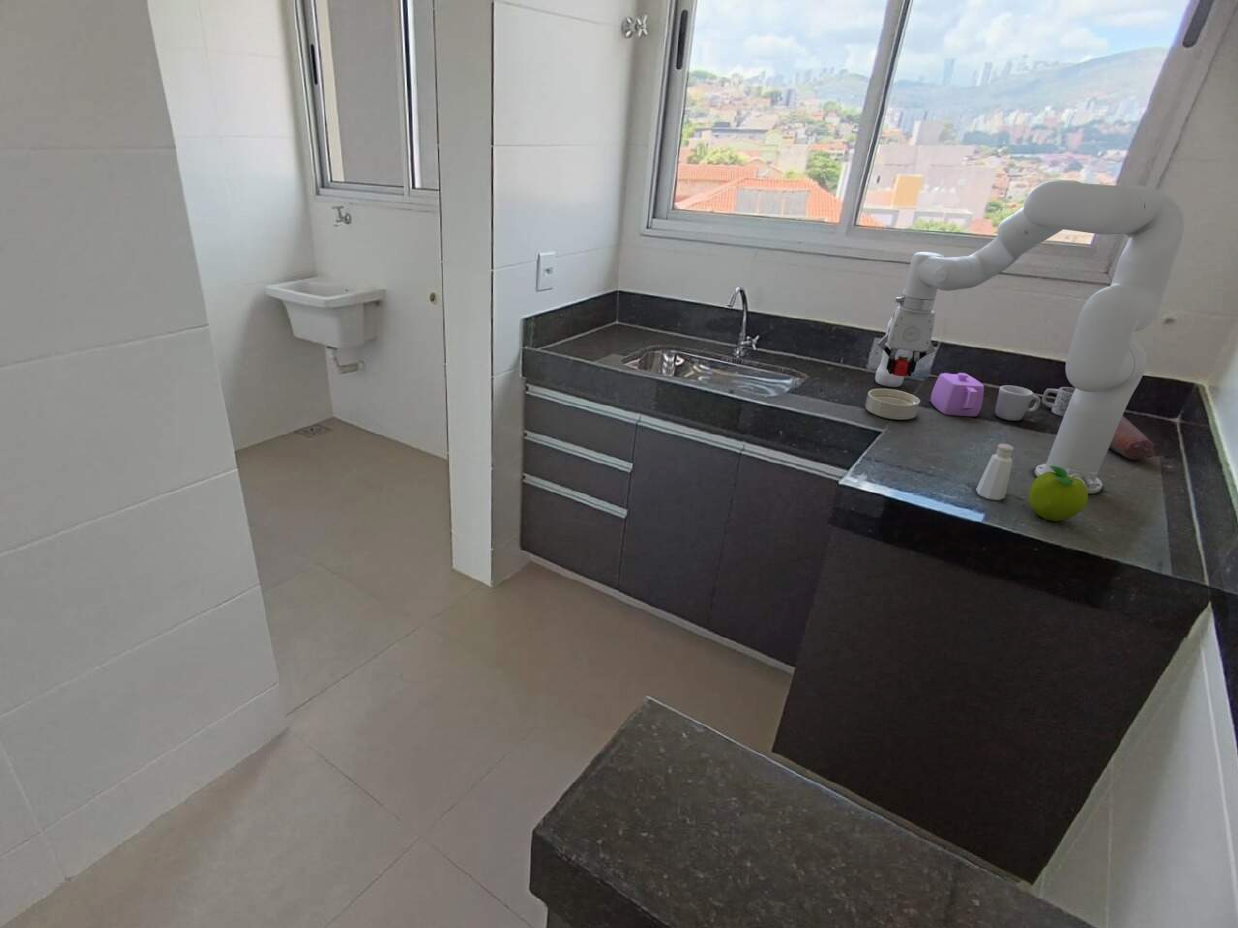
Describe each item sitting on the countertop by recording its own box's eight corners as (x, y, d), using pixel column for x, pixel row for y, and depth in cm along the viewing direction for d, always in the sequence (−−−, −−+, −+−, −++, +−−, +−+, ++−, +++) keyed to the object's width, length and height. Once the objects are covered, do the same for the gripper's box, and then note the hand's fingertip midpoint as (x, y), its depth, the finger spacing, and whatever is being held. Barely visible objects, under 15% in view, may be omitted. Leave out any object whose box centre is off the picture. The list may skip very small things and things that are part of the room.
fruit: (1024, 522, 126) (1042, 475, 122) (1020, 501, 134) (1037, 457, 129) (1080, 535, 123) (1100, 487, 118) (1072, 513, 130) (1091, 468, 126)
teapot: (921, 396, 191) (930, 362, 187) (957, 398, 191) (967, 364, 187) (946, 419, 175) (957, 382, 170) (986, 421, 175) (998, 385, 170)
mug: (1081, 414, 184) (1090, 392, 181) (1074, 419, 180) (1083, 396, 177) (1043, 404, 191) (1050, 382, 188) (1035, 408, 187) (1043, 386, 184)
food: (1067, 429, 173) (1079, 397, 169) (1102, 430, 174) (1115, 399, 170) (1124, 463, 154) (1139, 428, 150) (1163, 465, 154) (1179, 430, 151)
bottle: (883, 377, 206) (906, 280, 193) (907, 384, 200) (932, 285, 187) (868, 381, 201) (891, 282, 188) (893, 389, 196) (918, 287, 182)
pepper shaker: (977, 485, 139) (993, 438, 135) (1006, 493, 137) (1023, 445, 132) (973, 494, 135) (989, 446, 131) (1002, 503, 133) (1020, 454, 128)
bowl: (919, 424, 170) (924, 408, 169) (867, 417, 173) (871, 401, 171) (911, 407, 182) (915, 392, 180) (862, 401, 184) (866, 386, 182)
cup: (1026, 414, 182) (1036, 387, 178) (1040, 425, 175) (1050, 397, 171) (986, 411, 182) (995, 383, 179) (998, 421, 175) (1007, 393, 172)
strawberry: (908, 377, 171) (912, 359, 169) (892, 375, 171) (896, 357, 169) (905, 372, 174) (910, 354, 172) (889, 370, 175) (894, 353, 173)
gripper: (884, 303, 163) (867, 374, 171) (955, 310, 160) (935, 382, 168) (880, 297, 170) (864, 365, 178) (949, 304, 167) (929, 373, 175)
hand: (899, 373), depth 173 cm, fingers closed on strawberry, 4 cm apart
